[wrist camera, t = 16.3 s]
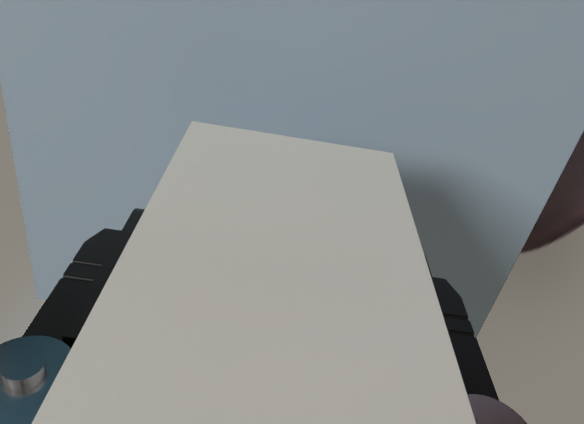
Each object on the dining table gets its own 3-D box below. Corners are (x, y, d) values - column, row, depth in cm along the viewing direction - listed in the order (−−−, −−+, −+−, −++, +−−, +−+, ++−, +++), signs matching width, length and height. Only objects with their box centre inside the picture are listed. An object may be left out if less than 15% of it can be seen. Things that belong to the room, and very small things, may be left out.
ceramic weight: (191, 120, 11) (-1, 481, 4) (392, 152, 11) (512, 541, 5) (183, 277, 13) (52, 668, 7) (349, 301, 14) (385, 700, 7)
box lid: (-24, -184, 11) (-46, -188, 11) (658, -55, 12) (678, -51, 11) (47, 283, 19) (37, 298, 18) (460, 341, 20) (465, 357, 19)
